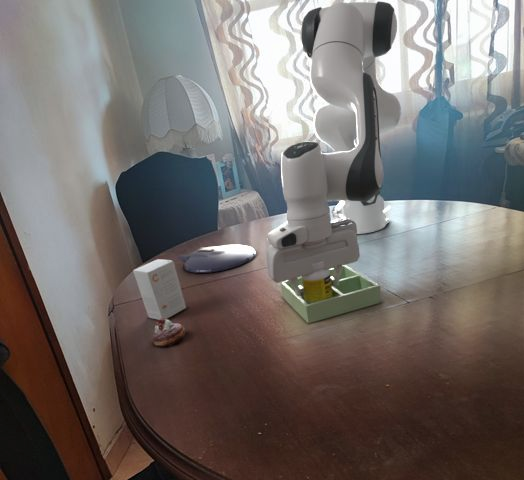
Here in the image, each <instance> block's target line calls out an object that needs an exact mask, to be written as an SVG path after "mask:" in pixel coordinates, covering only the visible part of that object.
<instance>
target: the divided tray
mask: <svg viewBox="0 0 524 480" xmlns="http://www.w3.org/2000/svg"><path fill="white" fill-rule="evenodd" d="M342 266H343V270H342V273H341V275H340V277H339V285H337V286H334V287H332V286H331V287H332V296H333V297H332V298H329V299H325V300H322V301H318V302H315V303H311V304H307V303H306V302H305V297H304V295H301V296H297V295H296V293H295V287H294V286H293V285H292V284H291V283H290V282H289V280H286V281H283V282H280V287H281V294H282V298H283V299H284V300H285V301H286V302H287V303H288V304H289V305H290V307H292V309H294V310H295V311H296V313H298V314H299V316H300V317H301V318H302V319H303V320H304V321H305V322H307V324H313V323H315V322H318V321H322V320H326V319H329V318H332V317H333V318H334V317H337V316H339V315H342V314H345V313H350V312H353V311H356V310H360V309H363V308H367V307H371V306H373V305H374V306H375V305H377V304H380V303H382V300H381V299H382V298H381V297H382V295H381V285H380V284H378V283H377V282H375V281H373V280H371V279H370V278H369V277H367V276H365V275H363V274H361V273H360V272H358V271H357V270H356V269H354V268H352V267H350V266H349V265H348V264H345V265H342ZM329 271H330V277H333V274H334V271H335V269H334V268H330V269H329ZM297 280H298V282H295V283H296V284H297V285H298V286H300V285H301V286H302V287H303V282H302V276H301V277H297Z"/></svg>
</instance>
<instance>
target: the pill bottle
mask: <svg viewBox="0 0 524 480" xmlns="http://www.w3.org/2000/svg"><path fill="white" fill-rule="evenodd" d="M322 268H324V262H319V263H315V264H312V269H313V271H314V270H315V271H314V273H312V274H308V275H305V276H301V277H302V282H303V288H304V297H305V302H306V303H307V304H311V303H315V302H318V301H322V300H325V299H329V298H332V297H333V296H332V287H331V277H330V271H329V269H327V270H323V269H322Z"/></svg>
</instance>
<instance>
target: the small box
mask: <svg viewBox="0 0 524 480" xmlns="http://www.w3.org/2000/svg"><path fill="white" fill-rule="evenodd" d="M132 271H133V275H134V278H135V280H136V281H135V282H136V284H137V287H138V290H139V292H140V296H141V299H142V302H143V304H144V305H143V306H144V308H145V310H146V313H147V317H148V318H150V319H154V320H157V321H159V320H160V319H161V318H162V317H164V318H165V319H166V320H168V319H169V318H171V317H172V316H174V315H176V314H178V313H180V312H182V311H183V310H185V309H187V306H186V301H185V299H184V295H183V292H182V288H181V284H180V280H179V277H178V273H177V270H176V266H175V263H174V260H171V259H162V258H161V259H160V258H157V259H155V260H153V261H151V262H148V263H146V264H143V265H142V266H139V267H137V268H135V269H133V270H132Z"/></svg>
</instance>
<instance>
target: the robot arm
mask: <svg viewBox="0 0 524 480" xmlns="http://www.w3.org/2000/svg"><path fill="white" fill-rule="evenodd" d="M395 12H396V11H395V8H394V6H392V4H391V3H389V2H385V1H379V0H378V1H377V2H369V1H367V2H364V1H355V2H338V3H335V4H332V5H331V6H326V7H322V6H320V7H316V8H313V9H311V10H308V12H307V13H306V14H305V16H304V17H303V19H302V24H301V28H300V44H301V47H302V52H303V54H304V55H305V56H306V57H307V58H308V59H309V60H310V67H309V80H310V81H309V82H310V85H311V88H312V90H313V92H314V93H315V95H316V96H317V97H318V98H319V99H320V100H321V101H323V102H324V103H326V104H324V105H322V106H319V107H318V108H317V110H316V111H315V113H314V117H313V122H312V126H313V132H314V133H315V136H316V137H317V138H318V139H319V141H320V142H323V143H325V144H326V145H327V146H329V148H331V149H332V151H333V152H322V148H321V145H320V143H319V142H318V141H313V140H305V141H300V142H296V143H294V144H291V145H289V146H288V147H285V149H284V150H283V152H281V159H280V160H281V161H280V172H281V174H280V175H281V184H282V185H281V186H282V193H283V199H284V200H285V203H286V209H287V210H286V221H285V222H284V223H283V224H281V225H279V226H278V227H276V228H275V229H273V230H271V231H270V232H268V233H267V236H266V238H267V241H268V243H269V244H270V245H269V246H268V248H267V251H266V267H267V274H268V276H269V278H270V280H271V281H273V282H274V283H276V284H278V283H281V282H283V281H287V280H289V282H290V283H291V284H292V285H293V286H294V287H295V293H296V295H297V296H301V295H304V288H303V287H302V286H301V285H300V286H298V285H297V284H296V283H295V282H298V280H297V278H298V277H302V276H305V275H308V274H312V273H314V271H315V270H314V271H313V269H312V264H315V263H319V262H324V268H322V269H323V270H327V269H331V268H334V269H335V271H334V274H333V277H331V286H332V287H334V286H337V285H339V277H340V275H341V273H342V270H343V266H342V265H349V264H353V263H356V262H357V261H359V259H360V257H361V251H360V246H359V241H358V237H357V235H363V234H364V235H365V234H370V233H373V232H377V231H380V230H383V229H384V228H386V226H387V224H388V223H390V218H387V217H386V216H387V215H386V212H387V211H389V210H390V209H391V206H390V205H388V206H387V207H386V206H385V199H384V197H383V196H381V195H380V194H381V190H382V188H383V183H384V167H383V162H382V154H381V142H380V141H381V140H380V137H381V136H380V135H382V134H385V133H387V132H388V131H392V130H394V129H395V128H396V127H397V125H398V124H399V122H400V119H401V116H402V115H401V114H402V107H401V103H400V100H399V99H398V97H397V96H396V95H395V94H394V93H391V92H389V91H387V90H385V88H383V87H382V85H381V84H380V83H379V81H378V77H377V76H378V75H377V66H376V65H377V58H379V57H382V56H384V55H387V54H388V52H389V51H390V50H391V49H392V46H393V44H394V43H395V40H396V36H397V31H398V20H397V15H396V13H395ZM356 143H357V144H356ZM330 202H331V203H334V202H338V203H337V205H336V206H334V207H333V208H332V213H331V209H330V206H329V203H330ZM331 214H332V216H331ZM331 217H332V218H333V219H332V218H331Z"/></svg>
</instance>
